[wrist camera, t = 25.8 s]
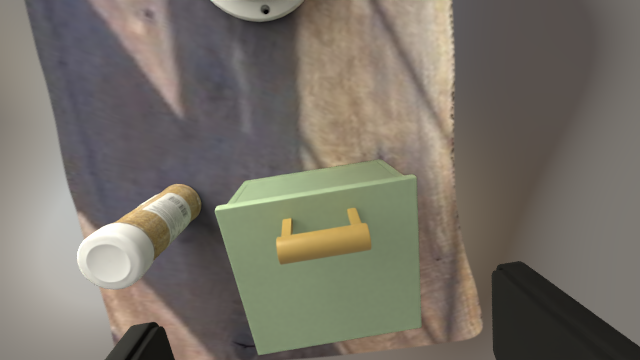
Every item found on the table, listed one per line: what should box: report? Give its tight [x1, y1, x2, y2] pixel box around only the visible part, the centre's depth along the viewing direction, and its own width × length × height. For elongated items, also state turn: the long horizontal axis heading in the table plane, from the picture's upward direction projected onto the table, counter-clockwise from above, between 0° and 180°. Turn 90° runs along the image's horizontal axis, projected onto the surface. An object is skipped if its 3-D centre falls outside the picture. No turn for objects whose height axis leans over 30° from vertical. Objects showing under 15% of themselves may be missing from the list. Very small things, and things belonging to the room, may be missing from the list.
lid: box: [215, 174, 422, 355], centre depth 24 cm, size 15×15×5 cm
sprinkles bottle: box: [77, 184, 201, 289], centre depth 28 cm, size 5×5×14 cm
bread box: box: [228, 159, 404, 204], centre depth 32 cm, size 14×15×9 cm
